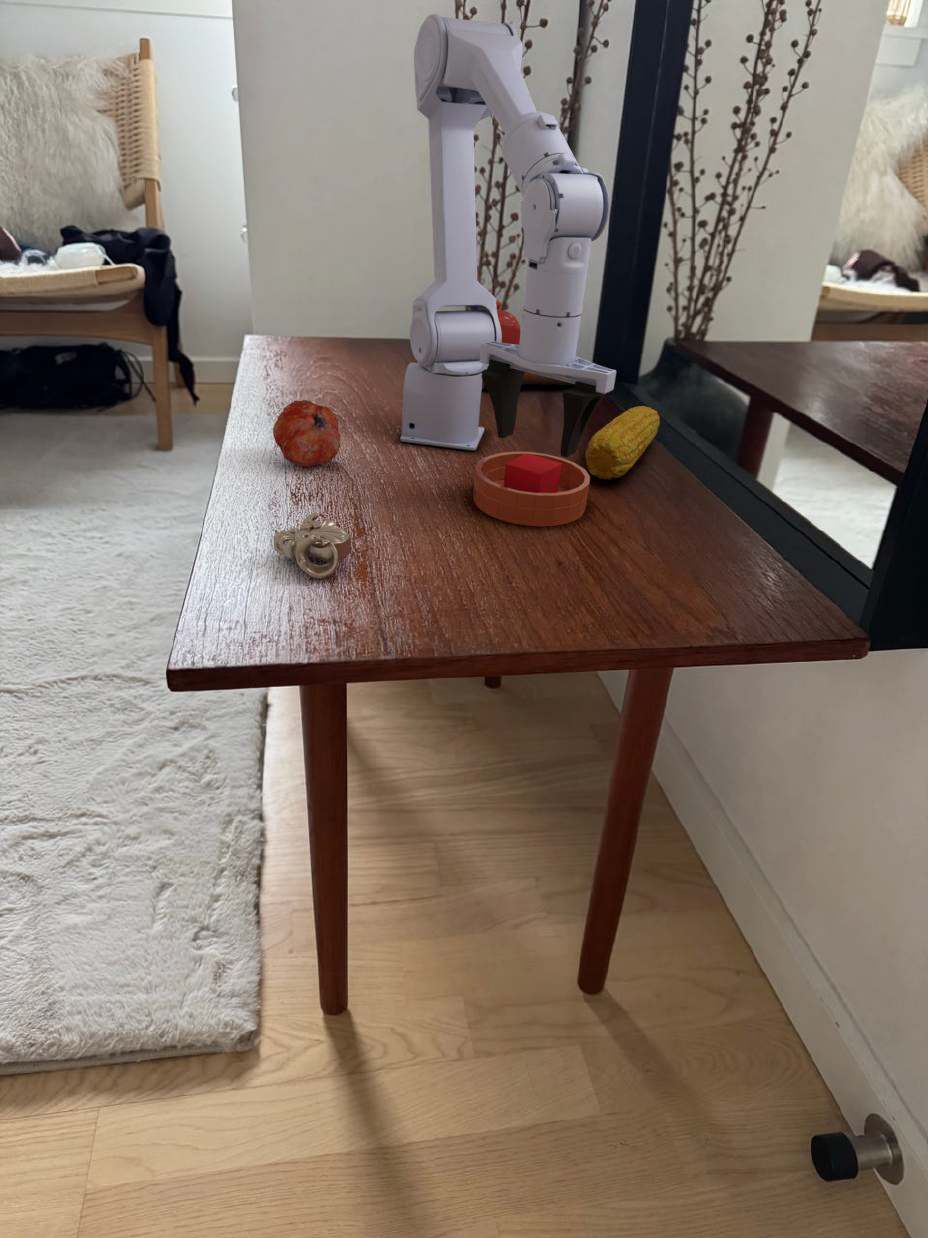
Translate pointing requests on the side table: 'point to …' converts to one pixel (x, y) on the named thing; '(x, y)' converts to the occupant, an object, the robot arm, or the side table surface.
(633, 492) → the side table surface
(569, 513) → the pot
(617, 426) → the food
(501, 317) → the butter dish
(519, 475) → the red block
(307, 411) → the pomegranate
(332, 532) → the ornament
